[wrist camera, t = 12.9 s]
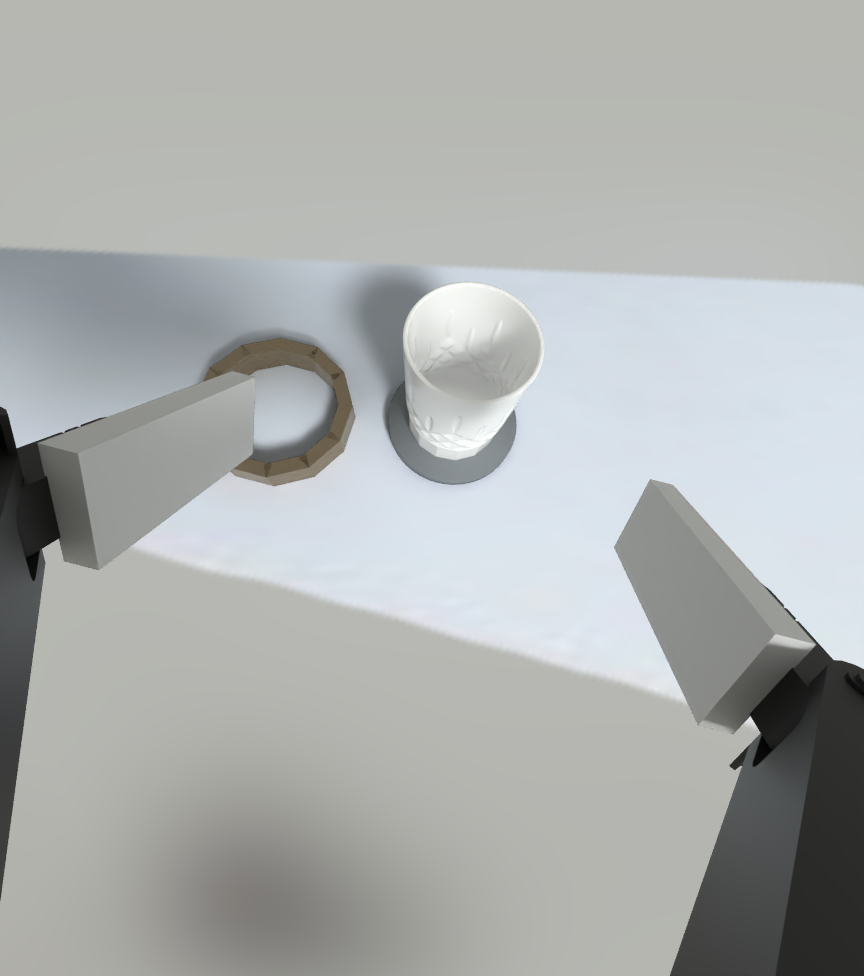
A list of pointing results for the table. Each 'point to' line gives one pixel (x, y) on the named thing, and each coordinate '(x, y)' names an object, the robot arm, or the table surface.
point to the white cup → (467, 365)
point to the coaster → (442, 467)
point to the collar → (306, 358)
